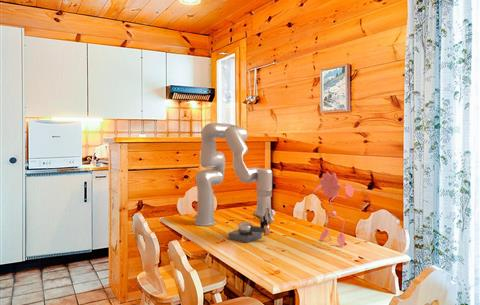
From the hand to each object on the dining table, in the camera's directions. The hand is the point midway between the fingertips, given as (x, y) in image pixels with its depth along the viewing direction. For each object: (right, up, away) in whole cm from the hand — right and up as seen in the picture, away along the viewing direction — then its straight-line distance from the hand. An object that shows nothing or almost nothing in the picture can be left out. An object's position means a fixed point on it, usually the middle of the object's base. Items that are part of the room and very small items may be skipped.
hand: (263, 229), depth 182 cm
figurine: (+30, -6, -10) cm, 32 cm away
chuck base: (-9, -4, 0) cm, 10 cm away
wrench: (+3, -3, +42) cm, 42 cm away
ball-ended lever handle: (-5, -1, -2) cm, 6 cm away
